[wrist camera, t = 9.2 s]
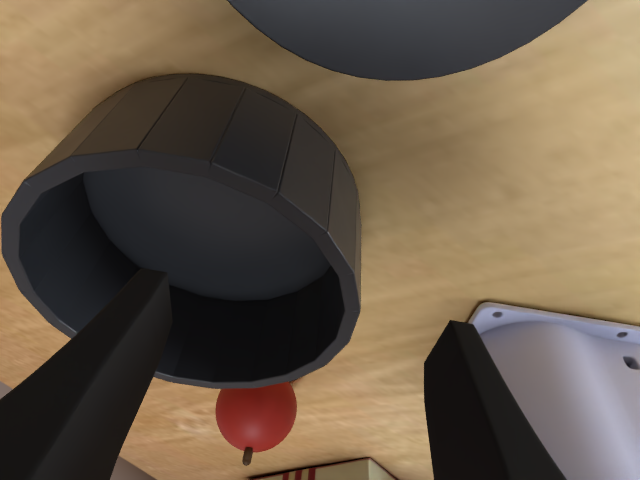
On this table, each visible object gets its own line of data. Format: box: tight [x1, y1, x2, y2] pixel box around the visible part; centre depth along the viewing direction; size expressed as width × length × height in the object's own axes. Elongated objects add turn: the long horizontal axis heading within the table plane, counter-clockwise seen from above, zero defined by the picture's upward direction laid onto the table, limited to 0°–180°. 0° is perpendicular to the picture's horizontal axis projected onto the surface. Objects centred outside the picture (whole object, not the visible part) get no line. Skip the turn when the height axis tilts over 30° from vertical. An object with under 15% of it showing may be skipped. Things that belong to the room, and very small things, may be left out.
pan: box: [1, 74, 362, 389], centre depth 19 cm, size 13×13×6 cm
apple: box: [216, 382, 297, 466], centre depth 28 cm, size 5×5×6 cm
